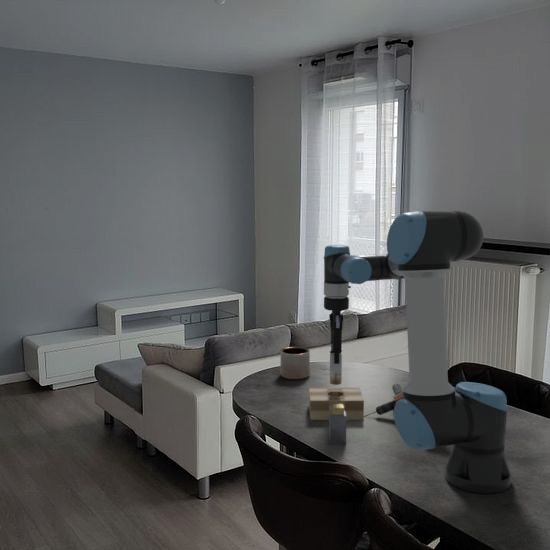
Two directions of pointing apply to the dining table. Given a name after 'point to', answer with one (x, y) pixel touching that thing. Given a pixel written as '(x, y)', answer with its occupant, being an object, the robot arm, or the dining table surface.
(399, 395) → the tool
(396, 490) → the dining table surface
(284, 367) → the planter
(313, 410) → the bore block
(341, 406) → the square bit
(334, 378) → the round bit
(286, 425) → the dining table surface
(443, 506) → the dining table surface
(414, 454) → the dining table surface
